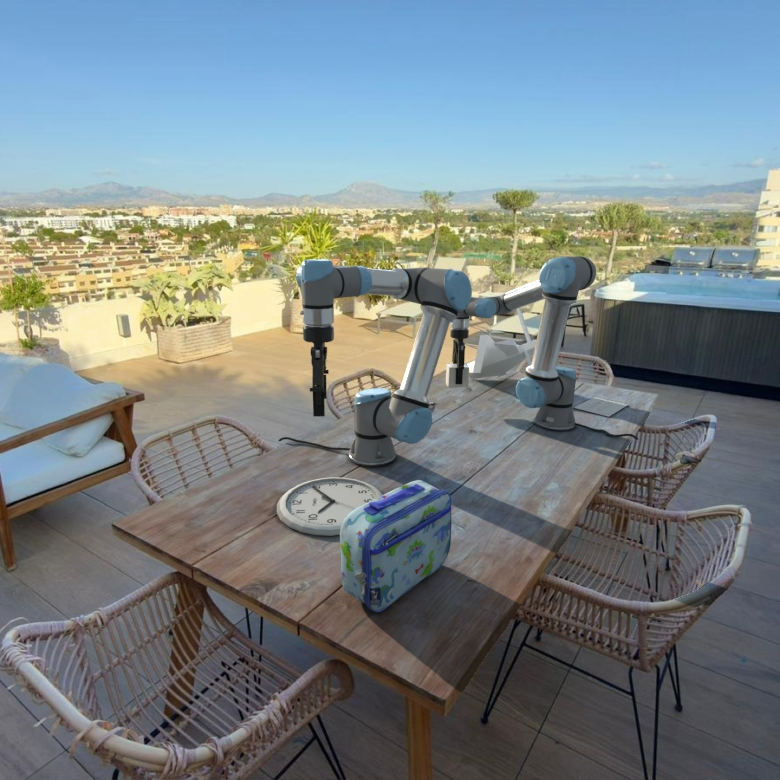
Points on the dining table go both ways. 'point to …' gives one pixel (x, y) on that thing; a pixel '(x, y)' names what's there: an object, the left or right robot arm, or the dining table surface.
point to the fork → (432, 401)
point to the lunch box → (394, 543)
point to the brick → (452, 376)
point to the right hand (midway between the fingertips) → (457, 381)
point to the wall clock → (323, 504)
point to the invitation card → (601, 406)
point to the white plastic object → (500, 354)
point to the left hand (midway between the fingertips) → (320, 406)
